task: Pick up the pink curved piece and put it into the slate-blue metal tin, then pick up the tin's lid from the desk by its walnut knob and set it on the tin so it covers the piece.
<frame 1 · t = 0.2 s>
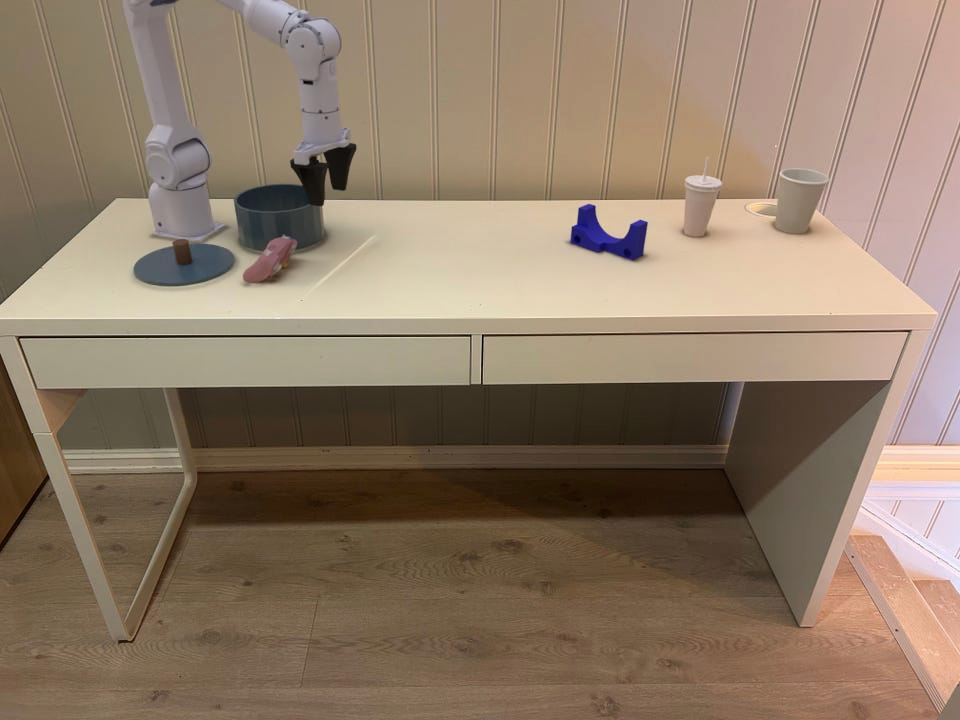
hand: (328, 197, 116), 10 cm above the table, tool pointing down, fingers open, 7 cm apart
blue cradle bracket: (605, 250, 126), on the table
dixie cup: (790, 228, 136), on the table
lid: (185, 264, 116), point 1 cm above the table
pink curved piece: (273, 274, 115), on the table
smoothie: (693, 233, 133), on the table
tin: (283, 238, 127), on the table
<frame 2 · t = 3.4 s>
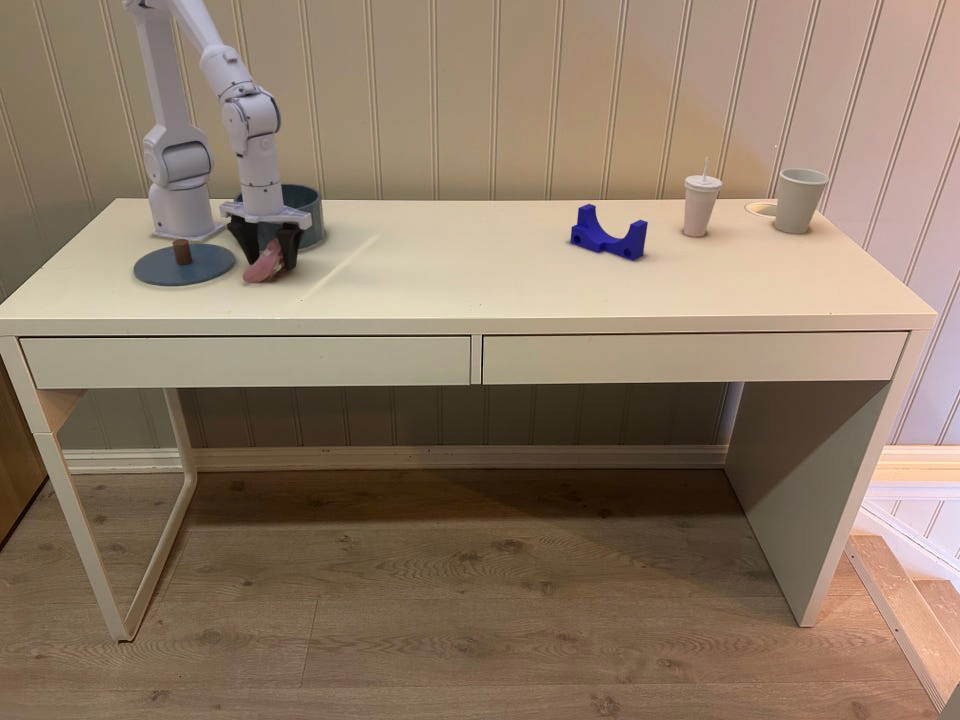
hand: (272, 265, 114), 1 cm above the table, tool pointing down, fingers closed on pink curved piece, 6 cm apart
pink curved piece: (273, 274, 115), on the table, touching gripper
everything else where it was.
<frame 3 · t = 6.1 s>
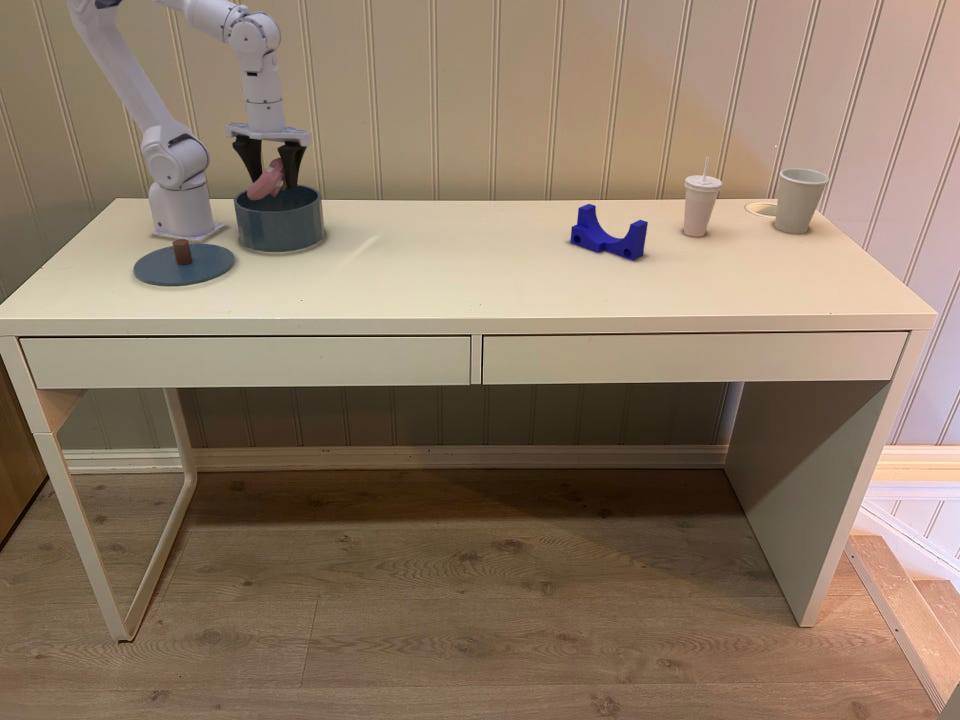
hand: (274, 184, 121), 10 cm above the table, tool pointing down, fingers closed on pink curved piece, 6 cm apart
pink curved piece: (276, 194, 122), point 8 cm above the table, touching gripper
everything else where it was.
when the fingers open (2 cm above the table, at t = 8.8 s): pink curved piece stays where it is, resting on tin.
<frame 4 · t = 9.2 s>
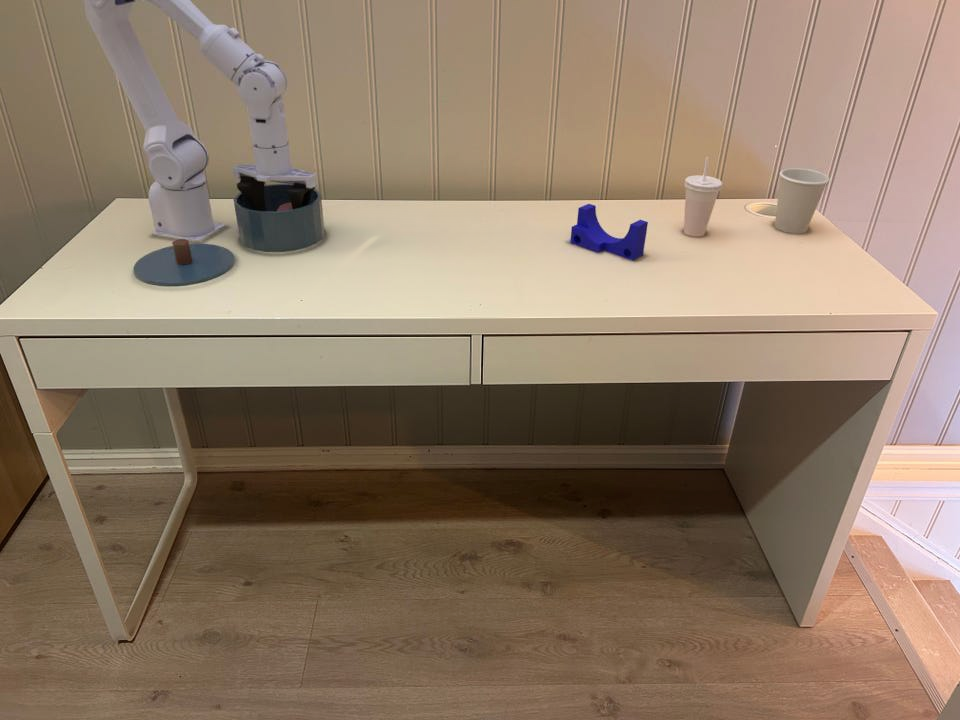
hand: (280, 223, 126), 3 cm above the table, tool pointing down, fingers open, 7 cm apart
pink curved piece: (283, 237, 127), resting on tin
everything else where it was.
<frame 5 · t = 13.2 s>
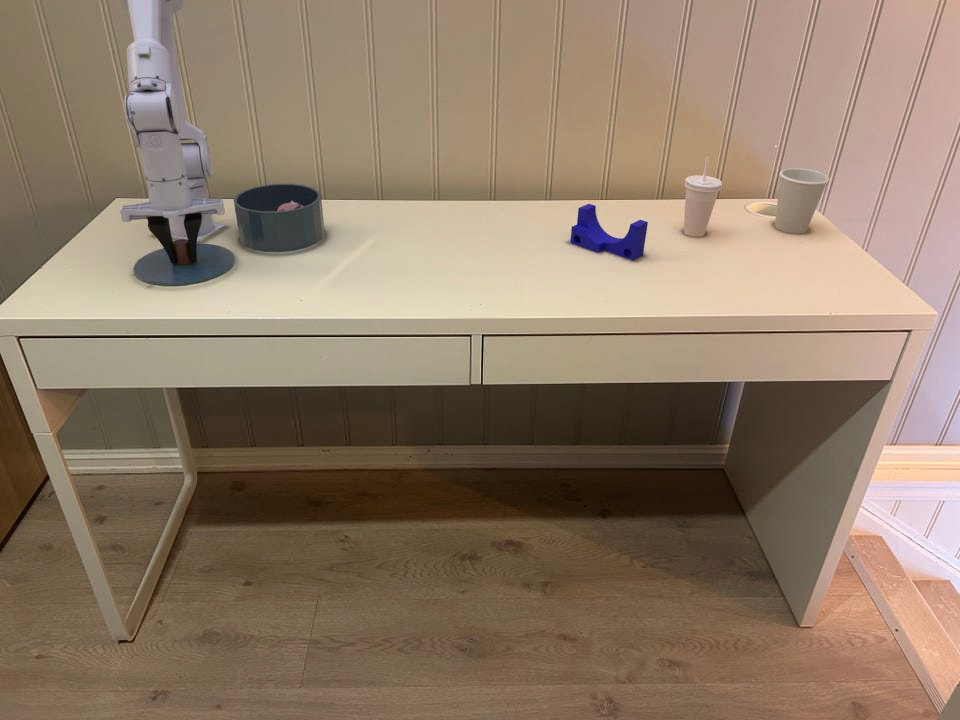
hand: (184, 260, 115), 1 cm above the table, tool pointing down, fingers closed on lid, 2 cm apart
lid: (185, 264, 116), point 1 cm above the table, touching gripper
everything else where it was.
when the fingers open (8 cm above the table, at t = 17.3 s): lid stays where it is, resting on tin.
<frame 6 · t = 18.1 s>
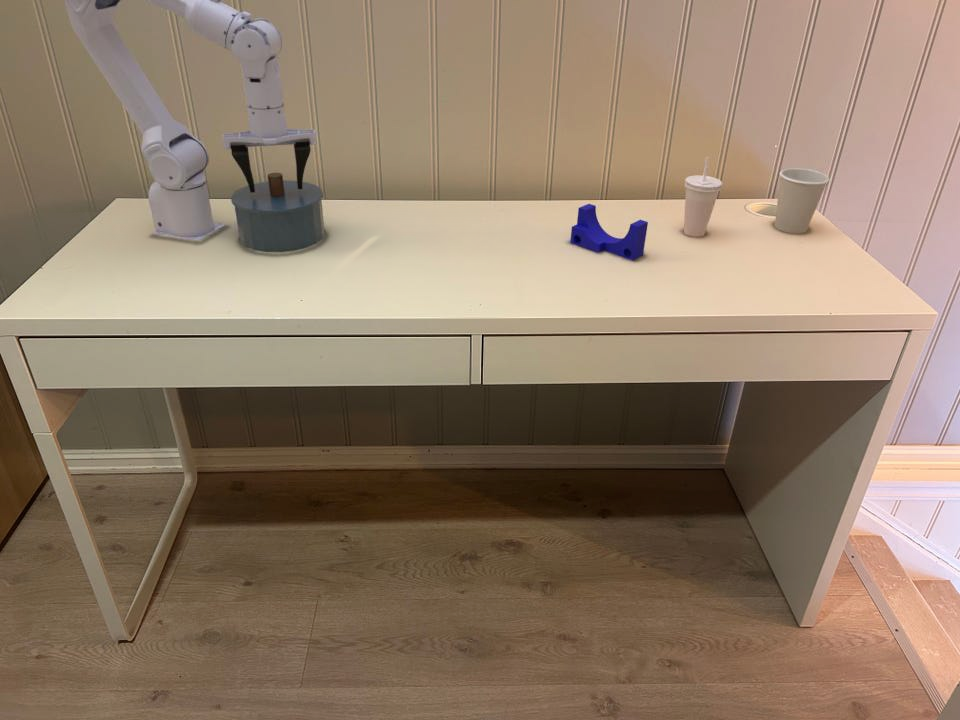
hand: (276, 188, 122), 9 cm above the table, tool pointing down, fingers open, 7 cm apart
lid: (277, 197, 123), point 7 cm above the table, touching tin
everything else where it was.
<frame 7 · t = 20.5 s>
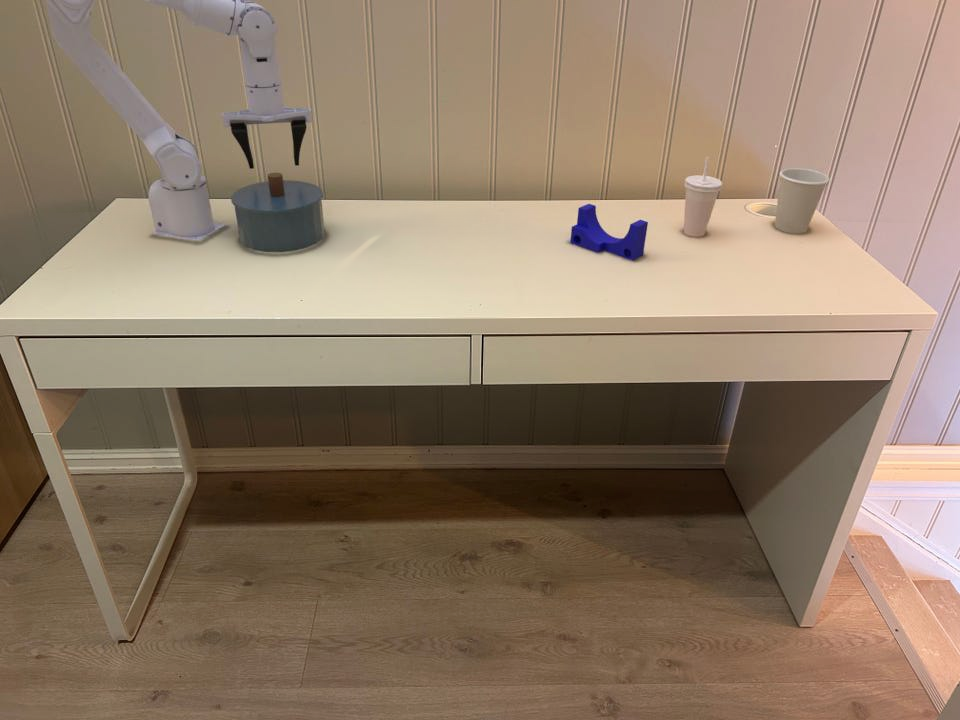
hand: (274, 165, 128), 10 cm above the table, tool pointing down, fingers open, 7 cm apart
nothing on the table moved.
at the end: pink curved piece inside the target area in the tin (0.0 cm from its centre), point 0.2 cm above the tin's base; lid 0.1 cm off-centre on the tin, point 7.4 cm above the tin's base; lid tilted 0° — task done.
